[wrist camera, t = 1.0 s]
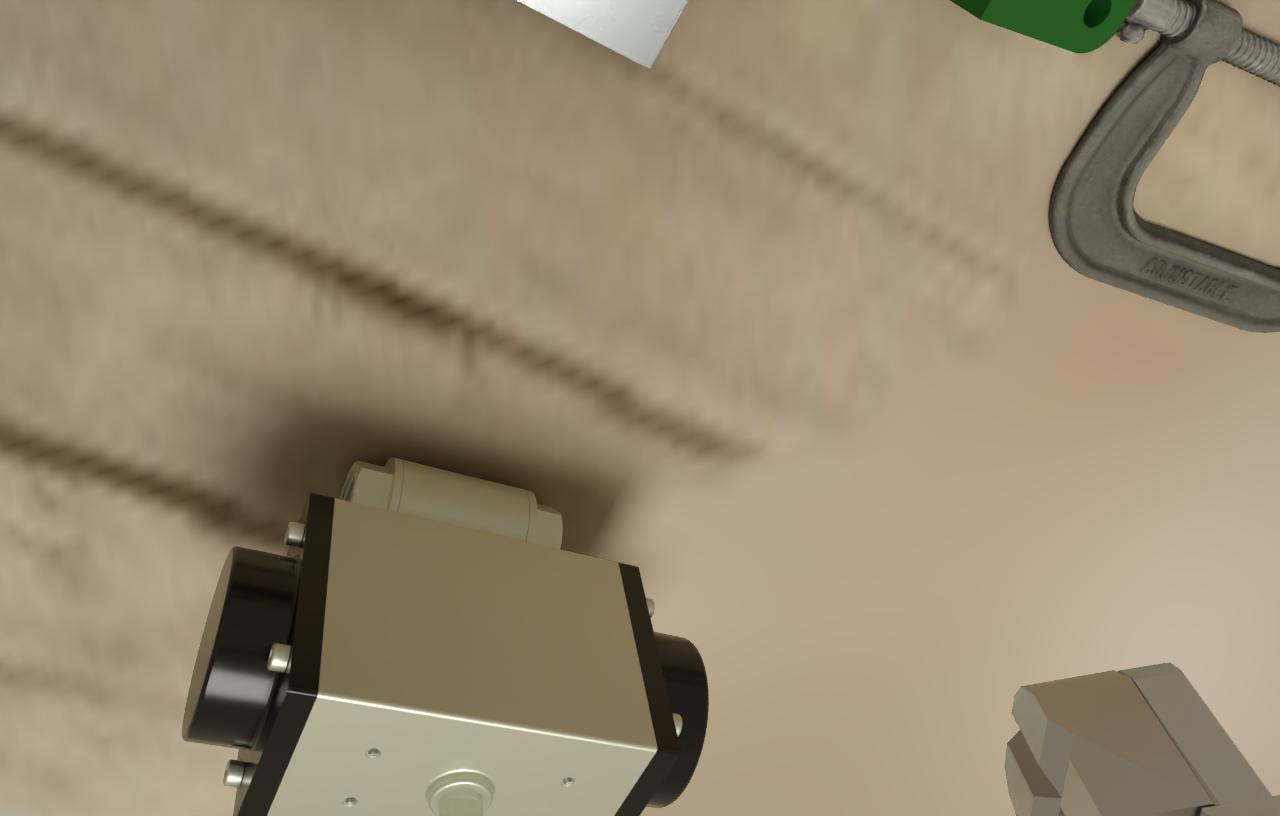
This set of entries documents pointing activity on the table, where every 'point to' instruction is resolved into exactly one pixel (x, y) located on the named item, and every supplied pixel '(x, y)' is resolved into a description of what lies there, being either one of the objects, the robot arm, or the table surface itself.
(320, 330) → the table surface
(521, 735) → the ball valve
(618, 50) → the base plate
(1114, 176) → the c clamp
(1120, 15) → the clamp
